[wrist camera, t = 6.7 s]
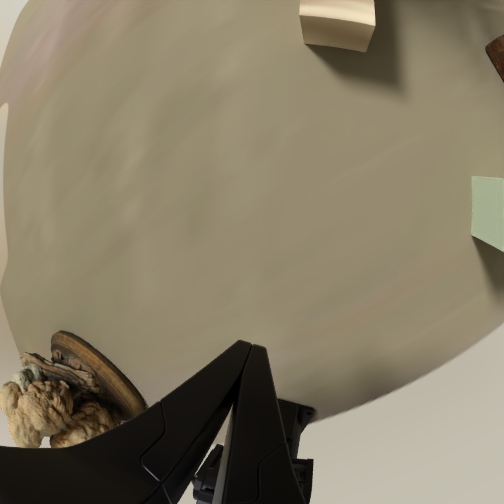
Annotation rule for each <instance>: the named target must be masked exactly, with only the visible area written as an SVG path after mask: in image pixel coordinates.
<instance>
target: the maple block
mask: <svg viewBox="0 0 504 504" xmlns="http://www.w3.org/2000/svg"><path fill="white" fill-rule="evenodd" d="M299 16H300V21H301V27H302V33H303V39H304V44H314V45H323V46H331V47H338V48H344V49H350V50H355V51H361V52H366V51H367V48H368V45H369V42H370V40H371V37H372V34H373V31H374V29H375V9H374V0H300V13H299Z"/></svg>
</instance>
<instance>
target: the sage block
mask: <svg viewBox="0 0 504 504" xmlns="http://www.w3.org/2000/svg"><path fill="white" fill-rule="evenodd" d="M471 179H472V229H471V235H472V236H474V237H476V238H478V239H480V240H482V241H484V242H486V243H488V244H490V245H492V246H494V247H495V248H497V249H499V250H501V251H503V252H504V178H492V177H478V176H471Z"/></svg>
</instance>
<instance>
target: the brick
mask: <svg viewBox="0 0 504 504" xmlns="http://www.w3.org/2000/svg"><path fill="white" fill-rule="evenodd" d="M486 51H487V53H488V54H489V56H490V58H491V60H492V61H493V63H494V66H495V67H496V69H497V71H498V73H499V75H500V76H501V78H502V80H503V81H504V35H502V36H500V37H498V38H497V39H495V40H493V41H492V42H491V43H489V44H488V45H487V46H486Z"/></svg>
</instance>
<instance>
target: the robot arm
mask: <svg viewBox="0 0 504 504" xmlns="http://www.w3.org/2000/svg"><path fill="white" fill-rule="evenodd" d="M233 402H234V403H233ZM232 405H233V406H232ZM231 407H232V410H231V415H230V420H229V425H228V430H227V434H226V439H225V444H224V446H223V445H220V444H217V445H216V446H215V448H214V449H213V450H212V451H211V452H210V454H209V455H208V457H207V458H206V460H205V461H204V463H203V465H202V466H201V467H200V469H199V470H198V468H199V466H200V465H201V463H202V461H203V459H204V458H205V456H206V454H207V452H208V450H209V449H210V447H211V445H212V443H213V441H214V440H215V438H216V436H217V434H218V432H219V430H220V429H221V427H222V425H223V423H224V421H225V419H226V417H227V415H228V414H229V411H230V409H231ZM313 415H314V409H313V408H311V407H307V406H303V405H299V404H295V403H291V402H287V401H283V400H280V399H277V396H276V391H275V387H274V382H273V377H272V373H271V368H270V363H269V359H268V354H267V350H266V348H265V347H263V346H260V345H256V344H253V345H252V344H251V343H250V342H246V341H243V340H238V341H237V342H235V343H234V344H233V345H232V346H230V347H229V348H228V349H227V350H225V351H224V352H223V353H222V354H220V355H219V356H218V357H217V358H215V359H214V360H213V361H212V362H210V363H209V364H208V365H206V366H205V367H204V368H203V369H201V370H200V371H199V372H197V373H196V374H195V375H193V376H192V377H191V378H189V379H188V380H187V381H185V382H184V383H183V384H181V385H180V386H179V387H177V388H176V389H175V390H173V391H172V392H171V393H169V394H168V395H166V396H165V397H164V398H162V399H161V400H160V401H158V402H156V403H155V404H154V405H152V406H151V407H149V408H148V409H146V410H145V411H143V412H142V413H140V414H139V415H137V416H135V417H134V418H132V419H130V420H128V421H126V422H124V423H123V424H121V425H119V426H117V427H115V428H112V429H110V430H108V431H106V432H104V433H102V434H100V435H97V436H95V437H93V438H91V439H88V440H86V441H84V442H81V443H79V444H75V445H72V446H68V447H61V448H23V447H6V446H0V504H177V503H178V502H179V500H180V498H181V497H182V495H183V494H184V491H185V490H186V488H187V486H188V485H189V483H190V482H192V484H193V486H194V489H193V498H194V499H195V500H197V503H196V504H309V502H310V498H311V491H312V478H313V477H312V476H313V459H307V460H306V459H297V453H298V447H299V441H300V435H301V433H302V432H303V430H304V428H305V427H306V426H307V424H308V423H309V421H310V420H311V418H312V417H313ZM197 470H198V472H197ZM196 472H197V473H196ZM195 473H196V474H195Z"/></svg>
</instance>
